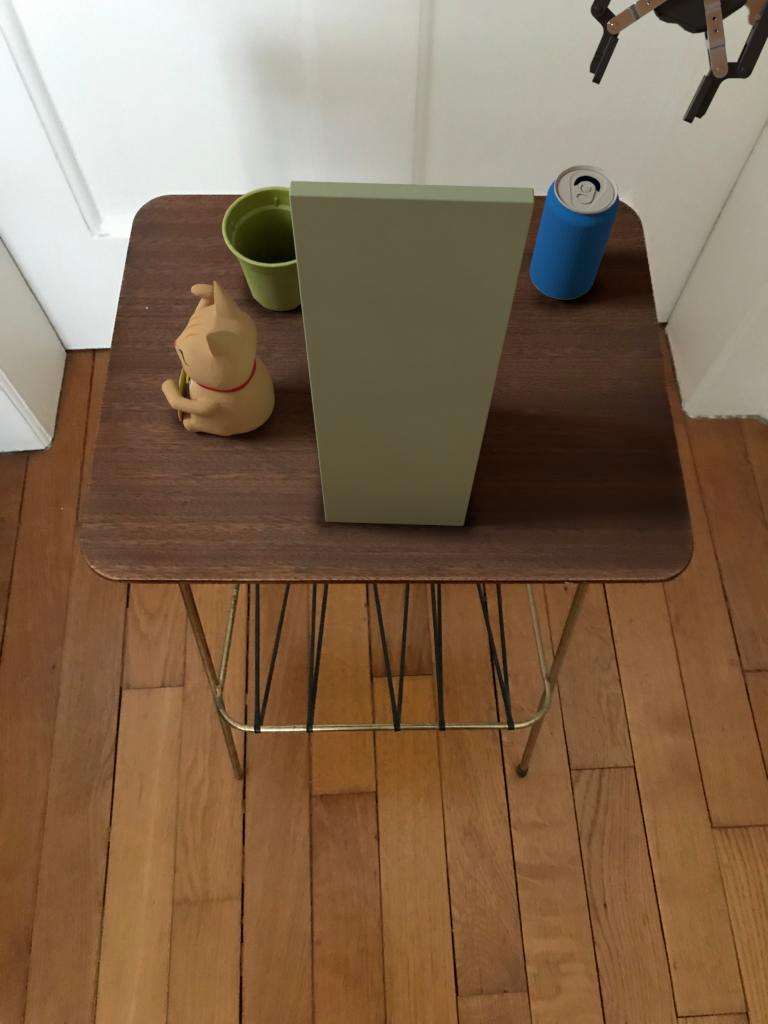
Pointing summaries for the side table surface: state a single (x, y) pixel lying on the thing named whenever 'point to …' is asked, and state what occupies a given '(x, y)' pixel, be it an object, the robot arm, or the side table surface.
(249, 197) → the plant pot
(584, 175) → the beverage can
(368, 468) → the shelf
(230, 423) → the figurine
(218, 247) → the side table surface
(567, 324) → the side table surface
